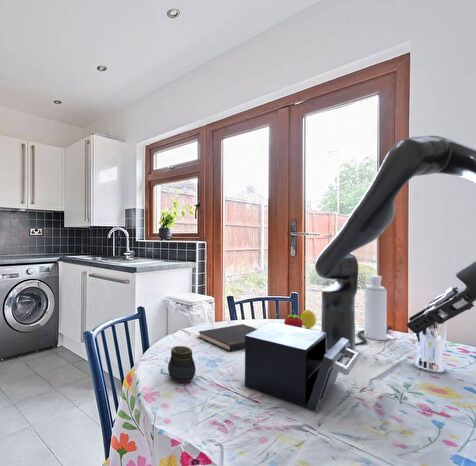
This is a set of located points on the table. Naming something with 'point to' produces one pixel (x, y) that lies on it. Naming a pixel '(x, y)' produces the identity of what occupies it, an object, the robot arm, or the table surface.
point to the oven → (284, 361)
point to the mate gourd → (181, 364)
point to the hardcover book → (227, 336)
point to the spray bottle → (375, 310)
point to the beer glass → (430, 348)
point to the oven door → (331, 371)
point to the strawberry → (293, 321)
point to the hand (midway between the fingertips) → (412, 325)
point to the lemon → (308, 319)
